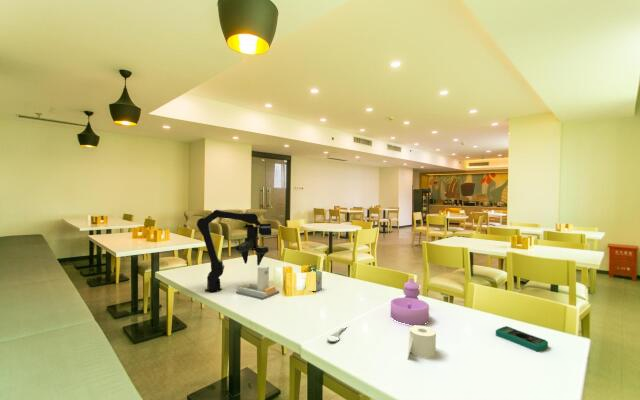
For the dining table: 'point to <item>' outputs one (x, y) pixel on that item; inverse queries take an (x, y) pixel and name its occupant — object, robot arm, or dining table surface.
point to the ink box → (317, 277)
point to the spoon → (336, 334)
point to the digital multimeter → (522, 338)
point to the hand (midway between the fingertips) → (251, 264)
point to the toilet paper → (422, 341)
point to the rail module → (263, 278)
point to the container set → (410, 306)
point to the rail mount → (257, 292)
